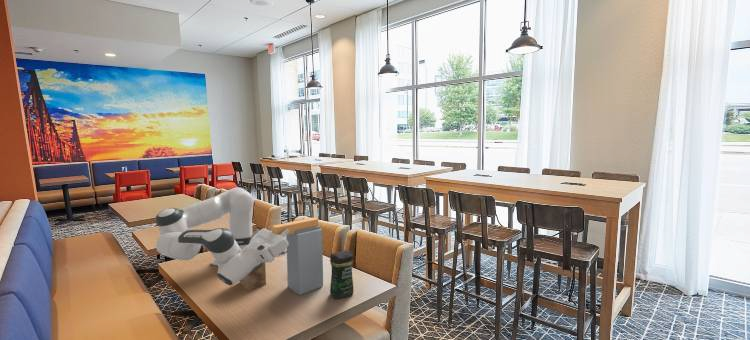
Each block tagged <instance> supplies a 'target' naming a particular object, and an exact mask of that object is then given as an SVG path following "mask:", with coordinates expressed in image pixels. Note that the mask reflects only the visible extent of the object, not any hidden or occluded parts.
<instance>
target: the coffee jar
mask: <svg viewBox="0 0 750 340" xmlns="http://www.w3.org/2000/svg"><path fill="white" fill-rule="evenodd" d="M329 260H330V261H329V262H330V265H331V274H330V275H331V277H330V286H329V288H330V289H329V294H330V295H331V296H332V297H333V298H336V299H342V298H346V297H348V296H352V295H353V294H354V290H355V289H354V281H353V279H354V278H353V263H354V254H353V252H352V251H350V250H348V249H345V250H342V251H338V252H337V251H336V252H333V253H331V254H330V259H329Z"/></svg>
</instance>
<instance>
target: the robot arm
mask: <svg viewBox="0 0 750 340" xmlns="http://www.w3.org/2000/svg"><path fill="white" fill-rule="evenodd" d="M254 203H255V201H254V197H253V195H252V194H251V193H250V192H249V191H247V190H246V189H244V188H242V187H233V188H231V189H228V190H225V191H224V192H222V193H219V194H216V195H215V196H212V197H210V198H207V199H204V200H201V201H199V202H195V203H193V204H190V205H187V206H185V207H184V208H182V209H179V208H175V207H169V208H165V209H163V210H161V211H160V212H158V213H157V214H156V216H155V225H156V226H157V227H158V228H157V229H158V232H159V235H160V236H159V237H158V238H157V239H156V241H155V249H156V251H157V252H158V253H159V254H161V255H163V256H164V257H167V258H171V259H174V260H178V261H179V260H180V261H189V260H192V259H194V258H195V257H196V256H197V255H198V254H199V253H200V250H201V248H202V246H203V247H205V248H206V249H207V251H209V253H210V254H211V255H212V256H213V258H214V259H212V261H211V263H210V264H211V265H213V266H217V267H218V269H217V272H216V275H217V278H219V280H220V281H222V283H224V284H226V285H228V286H233V285H235V284H237V283H240V280H241V279H243V278H244V277H245V276H246V275H248V274H249V273H250V272H251V270H252V269H253V268H254V267H256V266H258V265H259V264H260V263H261V262H262V263H263V262H265V263H272V262H273V261H275V258H276V257H278V256H279V255H281V254H282V253H284V252H283V251H284V250H285V249H286V248H287V247H288V245H289V243H288V241H287V240H286V238H285V237H286V235H287V234H288V233H289V229H287V228H285V229H284V230H283V232H282V234H280V235H278V234H275V233H273V232H272V229H271V230H269V229H267V228H265V227H263V228H261V229H259V231H257V232H256V233H255V234H254V233H253V212H254V211H253V210H254ZM227 214H229V222H228V223H229V227H228V228H229V229H228V228H226V227H225V228H224V227H219V228H214V229H193V228H196V227H200V226H202V225H205V224H208V223H210V222H213V221H216V220H218V219H221V218H222V217H223V216H225V215H227Z"/></svg>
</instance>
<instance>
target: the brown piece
mask: <svg viewBox="0 0 750 340" xmlns="http://www.w3.org/2000/svg"><path fill="white" fill-rule="evenodd" d="M266 274H267V273H266V262H263V263H262V262H261V263H260V264H259V265H258V266H256V267H254V268H253V269H252V270H251V272H250V273H249V274H248V275H246V276H245V277H244V278H243V279H241V280H240V281H239V283H240V284H241V285H242V286H243V287H245V288H246V289H247V290H248V291H250V290H253V289H256V288H258V287H259V288H260V287H261V286H265V285H267V275H266Z"/></svg>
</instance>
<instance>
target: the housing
mask: <svg viewBox="0 0 750 340" xmlns="http://www.w3.org/2000/svg"><path fill="white" fill-rule="evenodd" d="M286 240H287V241H288V243H289V245H288V247H287V251H286V270H287V271H286V272H287V287H288V288H289V290H292V291H293V292H295V293H296V294H297V295H302V294H305V293H309V292H311V291H313V290H316V289H318V288H322V287H324V256H323V254H324V252H323V251H324V250H323V228H321V226H320V225H318V226H317V227H312V228H308V229H303V230H298V231H295V233H294V234H289V235H286Z"/></svg>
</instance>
